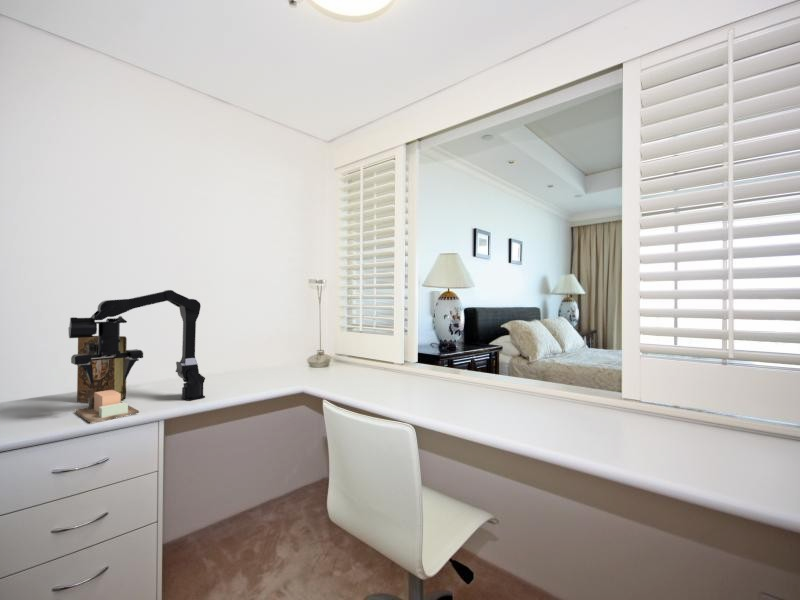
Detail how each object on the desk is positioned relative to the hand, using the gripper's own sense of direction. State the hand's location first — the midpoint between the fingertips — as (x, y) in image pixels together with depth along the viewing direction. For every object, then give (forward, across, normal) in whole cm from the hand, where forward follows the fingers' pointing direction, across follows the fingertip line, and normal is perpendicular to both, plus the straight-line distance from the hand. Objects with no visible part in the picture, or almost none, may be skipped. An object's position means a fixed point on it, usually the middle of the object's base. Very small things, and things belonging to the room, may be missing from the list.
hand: (108, 381), depth 124 cm
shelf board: (+11, 0, 0) cm, 11 cm away
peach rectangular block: (+10, 0, 0) cm, 10 cm away
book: (+11, -3, -20) cm, 24 cm away
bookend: (+10, 0, -7) cm, 12 cm away
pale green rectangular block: (+11, 0, +7) cm, 13 cm away
